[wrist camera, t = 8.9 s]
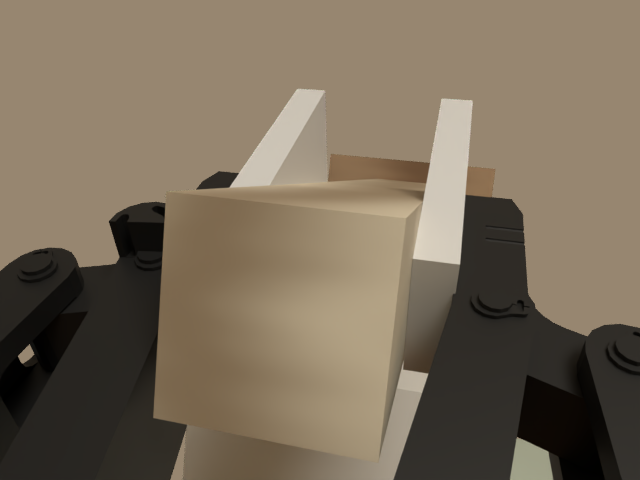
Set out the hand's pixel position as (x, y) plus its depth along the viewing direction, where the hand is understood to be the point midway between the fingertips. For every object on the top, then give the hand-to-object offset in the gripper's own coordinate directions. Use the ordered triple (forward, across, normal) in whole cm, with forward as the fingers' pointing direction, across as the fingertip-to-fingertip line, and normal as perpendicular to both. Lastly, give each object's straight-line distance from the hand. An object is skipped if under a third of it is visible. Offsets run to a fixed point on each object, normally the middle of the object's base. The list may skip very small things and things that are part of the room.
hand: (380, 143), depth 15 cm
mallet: (+2, 0, -6) cm, 7 cm away
